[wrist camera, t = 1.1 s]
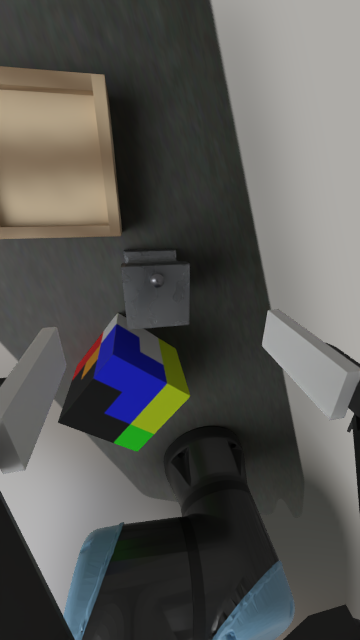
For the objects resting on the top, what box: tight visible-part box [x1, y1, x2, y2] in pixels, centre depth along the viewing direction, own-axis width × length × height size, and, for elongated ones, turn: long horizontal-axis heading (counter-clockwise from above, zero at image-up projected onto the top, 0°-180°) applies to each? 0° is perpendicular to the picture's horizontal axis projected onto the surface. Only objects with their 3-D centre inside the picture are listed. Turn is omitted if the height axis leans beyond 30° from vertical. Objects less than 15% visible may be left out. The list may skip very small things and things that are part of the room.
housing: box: [121, 248, 190, 330], centre depth 26 cm, size 6×6×10 cm
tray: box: [0, 66, 122, 239], centre depth 22 cm, size 12×12×4 cm
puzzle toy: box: [58, 313, 190, 451], centre depth 30 cm, size 10×10×10 cm
